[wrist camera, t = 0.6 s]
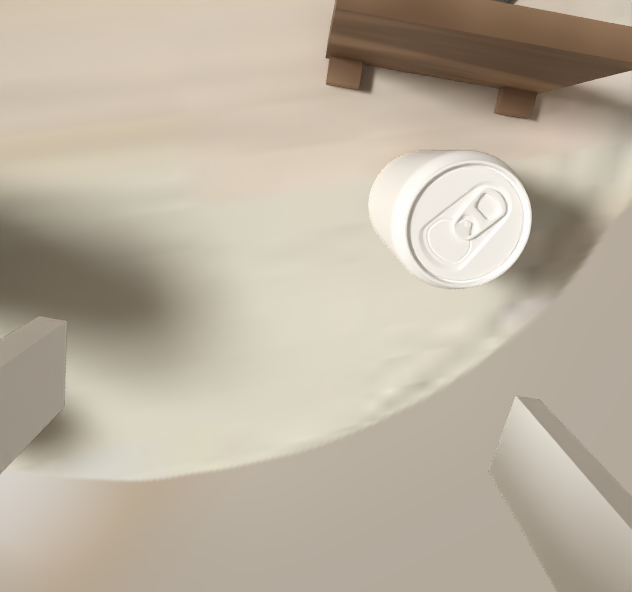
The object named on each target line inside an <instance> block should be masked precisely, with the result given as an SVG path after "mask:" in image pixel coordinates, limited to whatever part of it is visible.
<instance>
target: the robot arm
mask: <svg viewBox="0 0 632 592" xmlns="http://www.w3.org/2000/svg"><path fill="white" fill-rule="evenodd" d="M66 339H67V321H65V320H59V319H53V318H47V317H41V316H38V317H36V318H35V319H33V320H31V321H30V322H28V323H26V324H25V325H23V326H22V327H20V328H18V329H17V330H15V331H13V332H12V333H10V334H8V335H7V336H5V337H3V338H2V339H0V474H1V473H2V472H3V471H4V470H5V469H6V468H7V466H8V465H9V464H10V463H11V462H12V461H13V460H14V459H15V458H16V457H17V456H18V455H19V454H20V453H21V452H22V451H23V450H24V449H25V448H26V447H27V446H28V445H29V443H30V442H31V441H32V440H33V439H34V438H35V437H36V436H37V435H38V434H39V433H40V432H41V431H42V430H43V429H44V428H45V427H46V426H47V425H48V424H49V423H50V422H51V420H52V419H53V418H54V417H55V416H56V415H57V414H58V413H59V412H60V411H61V410H62V409H63V408H64V406H65V373H66ZM488 472H489V474H490V476H491V477H492V479H493V481H494V483H495V484H496V486H497V488H498V489H499V491H500V493H501V495H502V497H503V498H504V500H505V502H506V504H507V505H508V507H509V509H510V511H511V512H512V514H513V516H514V518H515V519H516V521H517V523H518V525H519V526H520V528H521V530H522V532H523V533H524V535H525V537H526V539H527V540H528V542H529V544H530V546H531V547H532V549H533V551H534V553H535V554H536V556H537V558H538V560H539V561H540V563H541V565H542V567H543V568H544V570H545V572H546V574H547V575H548V577H549V579H550V581H551V582H552V584H553V586H554V588H555V590H556V591H557V592H632V496H631V495H630V494H629V493H628V492H627V491H626V490H625V489H624V488H623V487H622V486H621V485H620V483H619V482H618V481H617V480H616V479H615V478H614V477H613V476H612V475H611V474H610V473H609V472H608V471H607V470H606V469H605V468H604V467H603V466H602V465H601V463H600V462H599V461H598V460H597V459H596V458H595V457H594V456H593V455H592V454H591V453H590V452H589V451H588V450H587V449H586V448H585V447H584V445H582V443H581V442H580V441H579V440H578V439H577V438H576V437H575V436H574V435H573V434H572V433H571V432H570V431H569V430H568V429H567V428H566V426H565V425H564V424H563V423H562V422H561V421H560V420H559V419H558V418H557V417H556V416H555V415H554V414H553V413H552V412H551V411H550V410H549V409H548V408H547V406H546V405H545V404H544V403H543V402H542V401H541V400H538V399H532V398H527V397H521V396H516V397H515V400H514V403H513V406H512V408H511V411H510V414H509V416H508V419H507V422H506V424H505V427H504V430H503V433H502V435H501V438H500V441H499V443H498V446H497V449H496V452H495V455H494V457H493V460H492V463H491V466H490V468H489V471H488Z"/></svg>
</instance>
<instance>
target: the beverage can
mask: <svg viewBox="0 0 632 592" xmlns="http://www.w3.org/2000/svg"><path fill="white" fill-rule="evenodd" d="M369 215H370V220H371V223H372V226H373V228H374V230H375V231H376V233H377V235H378V236H379V237H380V238H381V240H382V241H383V242H384V243H385V244H386V246H387V247H388V248H389V249H390V250H391V251H392V253H393V254H394V255H395V256H396V257H397V259H398V260H399V261H400V262H401V263H402V265H403V266H404V267H405V268H406V269H407V270H408V271H409V272H410V273H411V274H412V275H413V276H415V277H416V278H417V279H419V280H421V281H422V282H424V283H426V284H429V285H431V286H435V287H438V288H444V289H464V288H469V287H475V286H479V285H482V284H485V283H488V282H490V281H492V280H494V279H495V278H497V277H499V276H500V275H502V274H503V273H504V272H506V271H507V270H508V269H509V268H510V267H511V266H512V265H513V264H514V263H515V261H516V260H517V259H518V258H519V256H520V255H521V253H522V251H523V250H524V248H525V246H526V243H527V241H528V238H529V235H530V230H531V224H532V210H531V204H530V200H529V197H528V195H527V192H526V190H525V188H524V186H523V184H522V182H521V180H520V179H519V177H518V176H517V174H516V173H515V172H514V171H513V170H512V169H511V168H510V167H509V166H508V165H507V164H506V163H504V162H503V161H501V160H500V159H498V158H496V157H494V156H492V155H490V154H487V153H483V152H479V151H472V150H421V151H413V152H409V153H406V154H403V155H401V156H399V157H397V158H396V159H394V160H393V161H391V162H390V163H389V164H388V165H386V166H385V167H384V168H383V170H382V171H381V172H380V173H379V175H378V176H377V178H376V180H375V182H374V184H373V186H372V189H371V192H370V196H369Z"/></svg>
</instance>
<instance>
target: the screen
mask: <svg viewBox="0 0 632 592" xmlns="http://www.w3.org/2000/svg"><path fill="white" fill-rule="evenodd" d="M326 58H330V60H329V67H328V74H327V80H326V84H328V85H333V86H339V87H345V88H351V89H357V90H358V89H359V85H360V79H361V73H362V67H363V64H365V65H370V66H376V67H382V68H387V69H393V70H399V71H404V72H410V73H416V74H421V75H427V76H433V77H438V78H444V79H450V80H455V81H461V82H467V83H473V84H478V85H484V86H490V87H495V88H500V91H499V95H498V99H497V103H496V107H495V111H494V113H496V114H502V115H508V116H513V117H519V118H529V117H530V116H531V113H532V109H533V105H534V102H535V98H536V95H537V94H538V93H542V92H546V91H550V90H554V89H558V88H562V87H566V86H570V85H574V84H578V83H583V82H587V81H591V80H595V79H599V78H603V77H607V76H611V75H615V74H619V73H623V72H627V71H631V70H632V27H630V26H625V25H619V24H614V23H609V22H603V21H598V20H593V19H588V18H582V17H577V16H572V15H566V14H561V13H556V12H551V11H545V10H540V9H535V8H529V7H524V6H519V5H513V4H508V3H503V2H498V1H492V0H336V1H335V6H334V11H333V16H332V22H331V27H330V32H329V38H328V45H327V52H326Z"/></svg>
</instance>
